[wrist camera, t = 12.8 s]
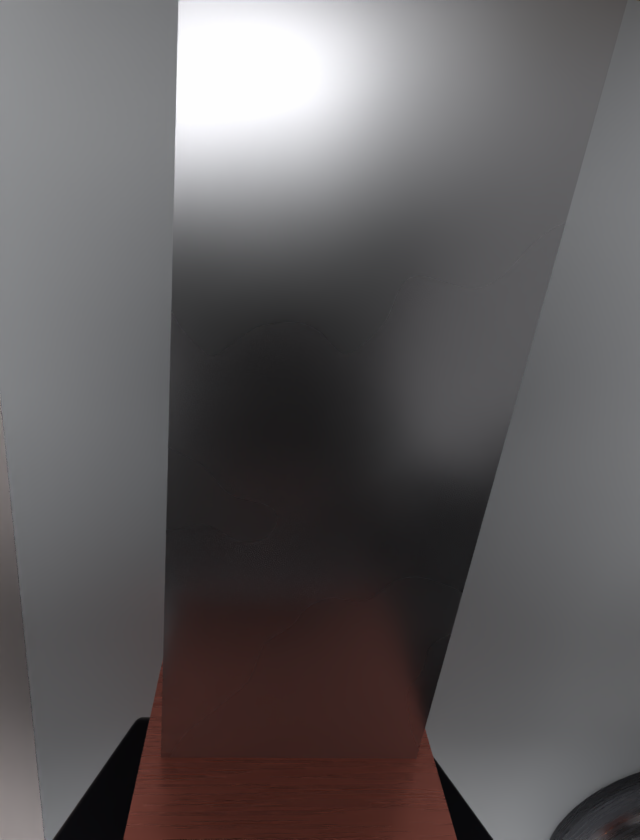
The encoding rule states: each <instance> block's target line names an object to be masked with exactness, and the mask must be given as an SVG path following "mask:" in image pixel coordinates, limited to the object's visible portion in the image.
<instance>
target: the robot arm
mask: <svg viewBox="0 0 640 840" xmlns="http://www.w3.org/2000/svg"><path fill="white" fill-rule="evenodd" d="M149 720H150V717H140V718H138V719H137V720H136V721H135V722H134V723H133V725H132V726H131V727H130V729H129V730H128V732H127V733H126V735H125V736H124V737H123V739H122V740H121V742H120V743H119V745H118V746H117V748H116V749H115V750H114V752H113V753H112V755H111V756H110V758H109V759H108V760H107V762H106V763H105V765H104V766H103V768H102V769H101V771H100V772H99V773H98V775H97V776H96V778H95V779H94V781H93V782H92V783H91V785H90V786H89V788H88V789H87V791H86V792H85V793H84V795H83V796H82V798H81V799H80V801H79V802H78V804H77V805H76V806H75V808H74V809H73V811H72V812H71V814H70V815H69V816H68V818H67V819H66V821H65V822H64V824H63V825H62V827H61V828H60V829H59V831H58V832H57V834H56V835H55V837H54V838H53V839H52V840H123V839H124V834H125V829H126V825H127V820H128V816H129V811H130V807H131V802H132V797H133V793H134V788H135V784H136V779H137V775H138V770H139V766H140V761H141V756H142V752H143V747H144V743H145V738H146V734H147V729H148V724H149ZM433 758H434V757H433ZM434 761H435V765H436V768H437V772H438V775H439V779H440V782H441V786H442V789H443V793H444V796H445V800H446V803H447V807H448V810H449V813H450V817H451V820H452V824H453V827H454V831H455V834H456V838H457V840H493V838H492V837H491V835H490V834H489V833H488V831H487V830H486V828H485V827H484V826H483V824H482V823H481V822H480V820H479V819H478V817H477V816H476V815H475V813H474V812H473V811H472V809H471V808H470V806H469V805H468V804H467V802H466V801H465V799H464V798H463V797H462V795H461V794H460V793H459V791H458V790H457V788H456V787H455V786H454V784H453V783H452V781H451V780H450V779H449V777H448V776H447V775H446V773H445V772H444V770H443V769H442V768H441V766H440V765H439V764H438V762H437V761H436V759H435V758H434Z"/></svg>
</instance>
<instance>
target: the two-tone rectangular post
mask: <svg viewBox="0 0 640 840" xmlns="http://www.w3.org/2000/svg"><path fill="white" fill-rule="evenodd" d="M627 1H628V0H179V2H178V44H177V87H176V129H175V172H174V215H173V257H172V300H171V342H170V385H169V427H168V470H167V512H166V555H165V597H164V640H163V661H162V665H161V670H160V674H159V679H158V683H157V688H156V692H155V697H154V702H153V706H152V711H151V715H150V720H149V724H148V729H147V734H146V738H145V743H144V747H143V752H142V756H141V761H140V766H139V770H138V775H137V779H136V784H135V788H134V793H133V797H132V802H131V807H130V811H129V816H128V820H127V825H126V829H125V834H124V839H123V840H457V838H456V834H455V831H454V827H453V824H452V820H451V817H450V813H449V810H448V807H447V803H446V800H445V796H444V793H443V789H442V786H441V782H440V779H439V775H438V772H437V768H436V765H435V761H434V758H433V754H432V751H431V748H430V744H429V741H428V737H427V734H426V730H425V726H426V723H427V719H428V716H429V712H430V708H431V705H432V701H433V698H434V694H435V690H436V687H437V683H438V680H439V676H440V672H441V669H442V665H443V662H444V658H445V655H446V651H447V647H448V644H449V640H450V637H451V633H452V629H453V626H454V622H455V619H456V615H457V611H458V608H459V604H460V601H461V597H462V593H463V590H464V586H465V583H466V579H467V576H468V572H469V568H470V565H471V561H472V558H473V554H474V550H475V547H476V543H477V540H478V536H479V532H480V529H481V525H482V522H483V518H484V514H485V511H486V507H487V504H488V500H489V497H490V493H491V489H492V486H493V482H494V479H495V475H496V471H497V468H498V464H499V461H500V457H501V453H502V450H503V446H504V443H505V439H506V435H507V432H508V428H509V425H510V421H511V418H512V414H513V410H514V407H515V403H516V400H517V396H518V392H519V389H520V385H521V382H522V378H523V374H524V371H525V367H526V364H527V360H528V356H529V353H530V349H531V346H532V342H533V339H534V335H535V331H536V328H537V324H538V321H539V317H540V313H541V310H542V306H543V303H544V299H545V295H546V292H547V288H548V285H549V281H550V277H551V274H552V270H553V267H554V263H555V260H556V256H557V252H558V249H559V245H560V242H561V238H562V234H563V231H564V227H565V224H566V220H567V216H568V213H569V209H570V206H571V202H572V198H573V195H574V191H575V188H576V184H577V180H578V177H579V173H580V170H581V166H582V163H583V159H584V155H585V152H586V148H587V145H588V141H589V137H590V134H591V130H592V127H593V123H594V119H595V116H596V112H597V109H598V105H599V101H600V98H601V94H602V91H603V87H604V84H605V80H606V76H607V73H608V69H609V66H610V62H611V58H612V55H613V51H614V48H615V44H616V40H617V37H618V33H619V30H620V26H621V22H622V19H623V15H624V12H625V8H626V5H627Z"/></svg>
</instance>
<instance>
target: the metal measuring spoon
mask: <svg viewBox="0 0 640 840" xmlns="http://www.w3.org/2000/svg"><path fill="white" fill-rule="evenodd" d="M550 840H640V772H638V773H635V774H632V775H630V776H627V777H625V778H623V779H620V780H618V781H616V782H614V783H612V784H610V785H608V786H606V787H604V788H602V789H600V790H599V791H597V792H596V793H594V794H592V795H591V796H589V797H588V798H586V799H585V800H584V801H582V802H581V803H580V804H578V805H577V806H576V807H575V808H574V809H573V810H572V811H571V812H570V813H568V814H567V816H566V817H565V818H564V819H563V820H562V821H561V822H560V823H559V825H558V826H557V828H556V829H555V831H554V832H553V834H552V836H551V838H550Z"/></svg>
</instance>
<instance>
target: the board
mask: <svg viewBox="0 0 640 840" xmlns="http://www.w3.org/2000/svg"><path fill="white" fill-rule="evenodd" d="M178 2H179V0H0V399H1V409H2V419H3V429H4V439H5V449H6V459H7V469H8V479H9V489H10V499H11V509H12V519H13V529H14V539H15V549H16V559H17V569H18V579H19V589H20V599H21V609H22V618H23V628H24V638H25V648H26V658H27V668H28V678H29V688H30V698H31V708H32V718H33V728H34V738H35V748H36V758H37V768H38V778H39V788H40V798H41V808H42V818H43V828H44V838H45V840H52V839H53V838H54V837H55V835H56V834H57V832H58V831H59V829H60V828H61V827H62V825H63V824H64V822H65V821H66V819H67V818H68V816H69V815H70V814H71V812H72V811H73V809H74V808H75V806H76V805H77V804H78V802H79V801H80V799H81V798H82V796H83V795H84V793H85V792H86V791H87V789H88V788H89V786H90V785H91V783H92V782H93V781H94V779H95V778H96V776H97V775H98V773H99V772H100V771H101V769H102V768H103V766H104V765H105V763H106V762H107V760H108V759H109V758H110V756H111V755H112V753H113V752H114V750H115V749H116V748H117V746H118V745H119V743H120V742H121V740H122V739H123V737H124V736H125V735H126V733H127V732H128V730H129V729H130V727H131V726H132V725H133V723H134V722H135V721H136V720H137V719H138V718H140V717H150V715H151V711H152V706H153V702H154V697H155V692H156V688H157V683H158V679H159V674H160V670H161V665H162V661H163V640H164V597H165V555H166V512H167V470H168V427H169V385H170V342H171V300H172V257H173V215H174V172H175V129H176V87H177V44H178ZM425 730H426V734H427V737H428V741H429V744H430V748H431V751H432V754H433V757H434V758H435V759H436V761H437V762H438V764H439V765H440V766H441V768H442V769H443V770H444V772H445V773H446V775H447V776H448V777H449V779H450V780H451V781H452V783H453V784H454V786H455V787H456V788H457V790H458V791H459V793H460V794H461V795H462V797H463V798H464V799H465V801H466V802H467V804H468V805H469V806H470V808H471V809H472V811H473V812H474V813H475V815H476V816H477V817H478V819H479V820H480V822H481V823H482V824H483V826H484V827H485V828H486V830H487V831H488V833H489V834H490V835H491V837H492V838H493V840H550V838H551V836H552V834H553V832H554V831H555V829H556V828H557V826H558V825H559V823H560V822H561V821H562V820H563V819H564V818H565V817H566V816H567V814H568V813H570V812H571V811H572V810H573V809H574V808H575V807H576V806H577V805H578V804H580V803H581V802H582V801H584V800H585V799H586V798H588V797H589V796H591V795H592V794H594V793H596V792H597V791H599V790H600V789H602V788H604V787H606V786H608V785H610V784H612V783H614V782H616V781H618V780H620V779H623V778H625V777H627V776H630V775H632V774H635V773H638V772H640V1H637V0H628V1H627V5H626V8H625V12H624V15H623V19H622V22H621V26H620V30H619V33H618V37H617V40H616V44H615V48H614V51H613V55H612V58H611V62H610V66H609V69H608V73H607V76H606V80H605V84H604V87H603V91H602V94H601V98H600V101H599V105H598V109H597V112H596V116H595V119H594V123H593V127H592V130H591V134H590V137H589V141H588V145H587V148H586V152H585V155H584V159H583V163H582V166H581V170H580V173H579V177H578V180H577V184H576V188H575V191H574V195H573V198H572V202H571V206H570V209H569V213H568V216H567V220H566V224H565V227H564V231H563V234H562V238H561V242H560V245H559V249H558V252H557V256H556V260H555V263H554V267H553V270H552V274H551V277H550V281H549V285H548V288H547V292H546V295H545V299H544V303H543V306H542V310H541V313H540V317H539V321H538V324H537V328H536V331H535V335H534V339H533V342H532V346H531V349H530V353H529V356H528V360H527V364H526V367H525V371H524V374H523V378H522V382H521V385H520V389H519V392H518V396H517V400H516V403H515V407H514V410H513V414H512V418H511V421H510V425H509V428H508V432H507V435H506V439H505V443H504V446H503V450H502V453H501V457H500V461H499V464H498V468H497V471H496V475H495V479H494V482H493V486H492V489H491V493H490V497H489V500H488V504H487V507H486V511H485V514H484V518H483V522H482V525H481V529H480V532H479V536H478V540H477V543H476V547H475V550H474V554H473V558H472V561H471V565H470V568H469V572H468V576H467V579H466V583H465V586H464V590H463V593H462V597H461V601H460V604H459V608H458V611H457V615H456V619H455V622H454V626H453V629H452V633H451V637H450V640H449V644H448V647H447V651H446V655H445V658H444V662H443V665H442V669H441V672H440V676H439V680H438V683H437V687H436V690H435V694H434V698H433V701H432V705H431V708H430V712H429V716H428V719H427V723H426V726H425Z"/></svg>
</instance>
